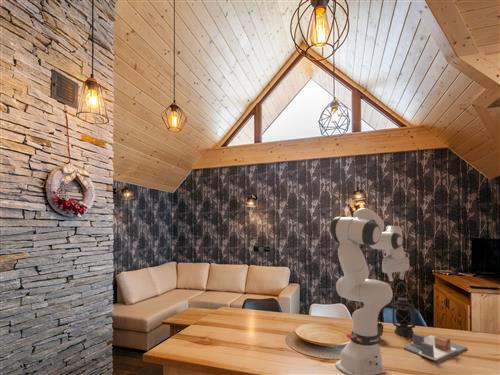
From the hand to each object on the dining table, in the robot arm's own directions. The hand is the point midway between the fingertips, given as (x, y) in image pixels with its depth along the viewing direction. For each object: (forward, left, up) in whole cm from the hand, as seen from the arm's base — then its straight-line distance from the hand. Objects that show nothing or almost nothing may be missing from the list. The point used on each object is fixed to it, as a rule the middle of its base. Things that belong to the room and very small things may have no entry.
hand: (396, 280), depth 159 cm
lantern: (+17, +8, -34) cm, 39 cm away
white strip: (+5, -16, -33) cm, 37 cm away
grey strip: (+13, -8, -33) cm, 36 cm away
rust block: (+10, -16, -32) cm, 38 cm away
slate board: (+11, -12, -34) cm, 38 cm away
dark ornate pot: (-3, +12, -34) cm, 36 cm away
